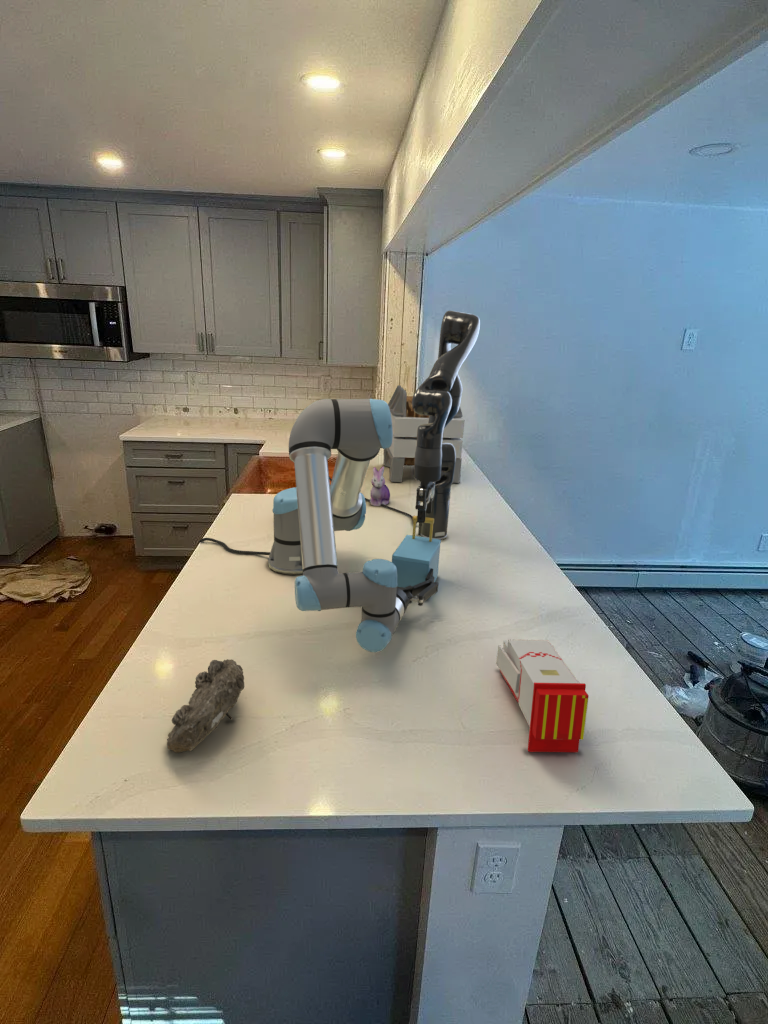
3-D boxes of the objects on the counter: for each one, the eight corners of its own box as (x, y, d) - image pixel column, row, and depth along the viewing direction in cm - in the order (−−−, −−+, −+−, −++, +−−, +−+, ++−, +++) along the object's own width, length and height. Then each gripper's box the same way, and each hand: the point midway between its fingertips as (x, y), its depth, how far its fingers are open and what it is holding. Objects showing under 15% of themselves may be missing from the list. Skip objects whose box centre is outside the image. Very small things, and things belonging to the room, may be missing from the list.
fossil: (192, 660, 117) (244, 628, 112) (224, 691, 120) (276, 661, 115) (142, 746, 98) (202, 712, 93) (182, 779, 101) (242, 748, 96)
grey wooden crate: (382, 463, 289) (386, 382, 275) (445, 464, 293) (451, 384, 279) (390, 482, 257) (394, 392, 243) (460, 483, 261) (468, 394, 247)
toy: (545, 622, 128) (598, 691, 98) (539, 677, 130) (589, 759, 101) (491, 621, 127) (529, 690, 98) (487, 676, 130) (522, 759, 101)
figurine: (374, 508, 224) (376, 471, 219) (363, 500, 232) (364, 464, 227) (395, 505, 228) (397, 469, 223) (384, 497, 237) (385, 462, 231)
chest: (403, 571, 172) (406, 538, 168) (437, 576, 169) (440, 544, 165) (390, 593, 158) (391, 558, 154) (426, 600, 155) (429, 565, 151)
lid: (406, 537, 169) (408, 512, 166) (440, 543, 166) (443, 516, 163) (391, 558, 154) (393, 530, 151) (429, 564, 151) (431, 536, 149)
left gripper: (344, 612, 141) (372, 575, 161) (435, 629, 135) (451, 588, 155) (345, 585, 138) (373, 550, 158) (437, 601, 132) (454, 564, 152)
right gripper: (436, 470, 150) (432, 527, 155) (445, 458, 162) (441, 511, 168) (408, 467, 151) (405, 523, 157) (420, 455, 164) (417, 508, 170)
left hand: (412, 569), depth 156 cm, fingers closed on chest, 10 cm apart
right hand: (424, 517), depth 162 cm, fingers open, 8 cm apart
